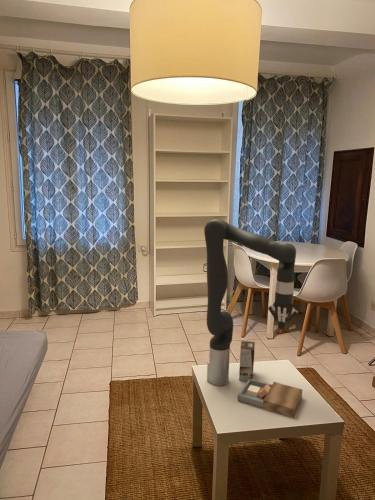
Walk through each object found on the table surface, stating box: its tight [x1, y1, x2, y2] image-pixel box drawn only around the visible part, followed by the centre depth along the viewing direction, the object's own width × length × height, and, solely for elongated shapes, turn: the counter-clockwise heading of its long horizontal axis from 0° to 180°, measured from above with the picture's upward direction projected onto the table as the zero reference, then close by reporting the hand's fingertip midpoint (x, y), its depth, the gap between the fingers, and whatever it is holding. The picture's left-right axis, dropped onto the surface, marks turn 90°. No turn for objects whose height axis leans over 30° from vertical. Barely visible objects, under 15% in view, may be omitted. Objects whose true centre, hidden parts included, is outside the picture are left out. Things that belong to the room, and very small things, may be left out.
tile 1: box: [247, 385, 260, 397], centre depth 168 cm, size 4×4×2 cm
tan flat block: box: [262, 381, 303, 419], centre depth 162 cm, size 12×16×4 cm
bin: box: [237, 378, 273, 410], centre depth 167 cm, size 11×15×3 cm
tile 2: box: [258, 383, 271, 398], centre depth 165 cm, size 4×4×2 cm
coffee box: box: [238, 340, 256, 382], centre depth 182 cm, size 9×6×16 cm
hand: (281, 329), depth 167 cm, fingers closed
